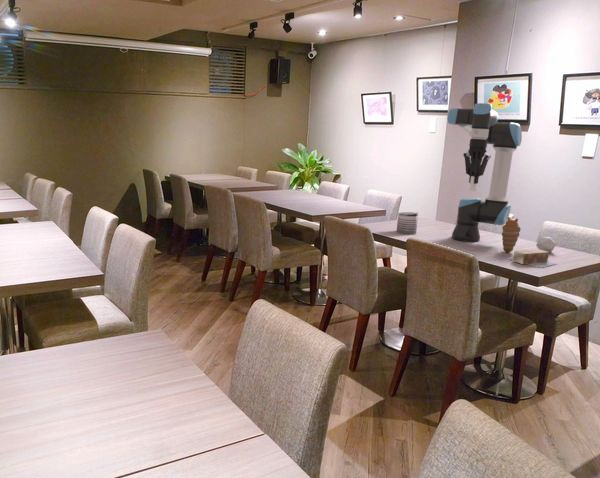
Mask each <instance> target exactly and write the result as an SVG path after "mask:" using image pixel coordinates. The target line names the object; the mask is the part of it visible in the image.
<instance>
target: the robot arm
mask: <svg viewBox="0 0 600 478" xmlns="http://www.w3.org/2000/svg"><path fill="white" fill-rule="evenodd" d="M492 107H493V105H492V104H491V103H486V102H484V103H481V102H479V103H478V102H477V103H475V104H474V107H473V108H458V107H456V108H451V109H449V110H448V112H447V117H446V118H447V123H448V124H449V125H454V126H455V125H458V126H459V127H460V128H462V129H463V130H465V131H466V132H468V135H469V136H470V139H469V144H468V146H469V149H468V151H467V152H464V153H463V154H462V155H463V158H464V164H465V165H464V166H465V174H466V175H468V176H469V178H468V183H469V191H470V192H471V191H472V192H474V191H476V188H477V184H479V178H480V177H481V176H483V175H484V173H485V170H486V168H487V165H488V162H489V160H490V159H491V157H492V156H491V155H490V154H488V153H487V147H488V145H492V148H493V150H494V151H495V153H494V160H493V166H492V171H491V172H492V173H491V180H490V186H489V194H488V196H486V198H485V199H484V200H483V199H482V198H481V197H467V198H461V199H460V200H459V203H458V206H457V209H458V210H457V219H456V223H455V224H456V225H455V227H454V229H453V231H452V233H451V239H454V240H456V241H461V242H470V243H471V242H475V243H476V242H480V240H481V235H480V229H479V223H482V224H488V225H493V226H495V225H496V226H504V225H505V224H506V221H507V220H508V217H510V214H511V208H512V207H511V204H509V200H508V199H507V197H506V196H507V192H508V185H509V179H510V172H511V165H512V158H513V153H514V152H516V150H517V148H518V147H520V146H521V144H522V137H523V136H522V135H523V134H522V128H521V125H520V124H519V123H516V122H500V121H499V122H498V120H499V114H498V112H497V111H495V110H494V109H493V108H492Z"/></svg>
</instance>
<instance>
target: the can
mask: <svg viewBox="0 0 600 478" xmlns="http://www.w3.org/2000/svg"><path fill="white" fill-rule="evenodd" d="M418 214H419V213H418V212H413V211H404V212H398V213H397V222H396V223H397V224H396V233H398V234H401V235H405V236H407V235H408V236H411V235H413V236H414V235H416V234H417V228H418V221H419V220H418V218H419V215H418Z"/></svg>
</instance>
